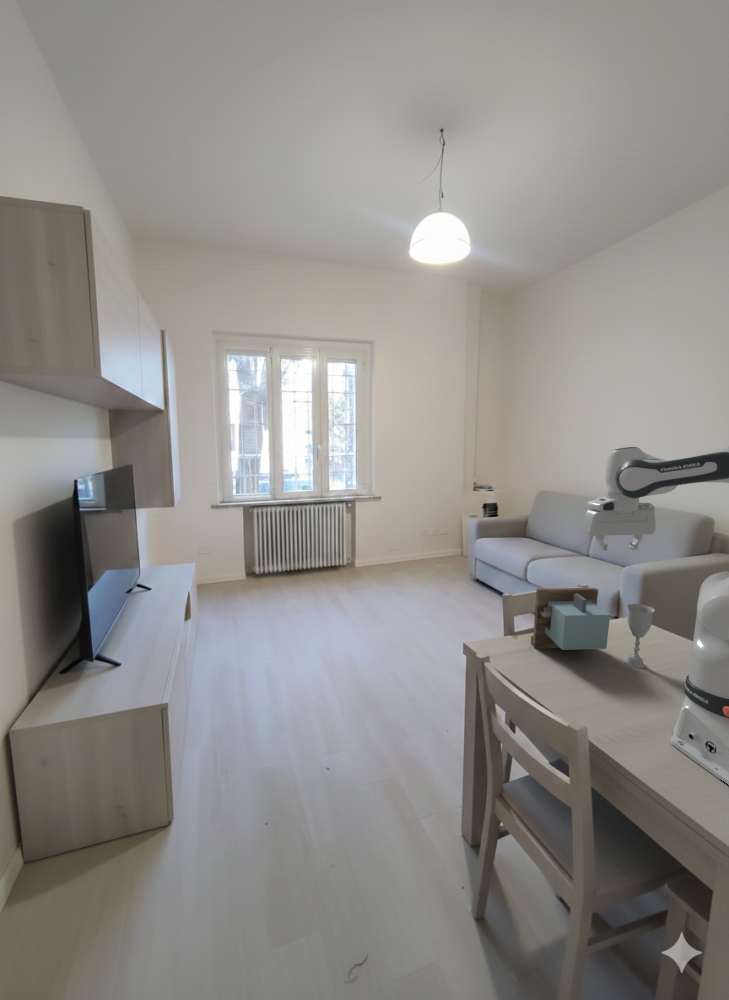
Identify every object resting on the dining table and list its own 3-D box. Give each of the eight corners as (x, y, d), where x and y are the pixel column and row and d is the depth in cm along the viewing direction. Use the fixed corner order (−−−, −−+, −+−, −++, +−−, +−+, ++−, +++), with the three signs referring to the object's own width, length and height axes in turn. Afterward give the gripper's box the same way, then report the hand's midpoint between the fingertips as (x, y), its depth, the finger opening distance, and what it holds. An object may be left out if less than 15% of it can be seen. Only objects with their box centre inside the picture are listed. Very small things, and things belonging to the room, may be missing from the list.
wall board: (598, 651, 145) (603, 592, 142) (538, 652, 144) (542, 593, 141) (587, 643, 151) (592, 586, 148) (530, 644, 150) (534, 587, 147)
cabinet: (606, 648, 136) (611, 602, 134) (562, 649, 135) (566, 602, 133) (585, 631, 147) (590, 588, 145) (544, 632, 146) (548, 589, 144)
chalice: (641, 658, 141) (647, 604, 138) (653, 669, 134) (659, 612, 131) (617, 657, 141) (623, 603, 139) (628, 668, 135) (633, 611, 132)
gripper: (647, 501, 133) (644, 546, 135) (581, 502, 132) (579, 548, 133) (662, 503, 127) (659, 551, 129) (594, 505, 126) (591, 553, 127)
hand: (618, 549), depth 131 cm, fingers open, 8 cm apart
